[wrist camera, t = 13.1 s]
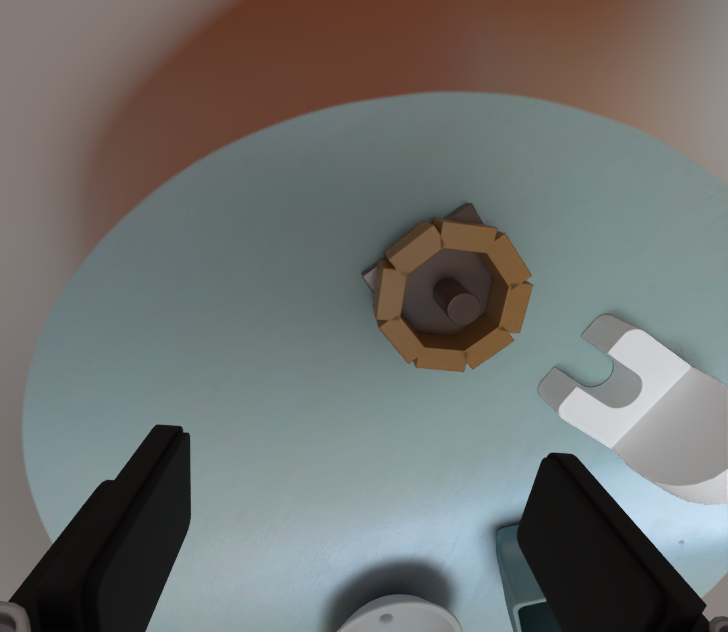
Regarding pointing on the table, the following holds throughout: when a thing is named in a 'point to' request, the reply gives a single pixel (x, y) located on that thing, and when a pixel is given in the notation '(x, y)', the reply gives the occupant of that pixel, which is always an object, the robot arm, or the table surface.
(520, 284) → the segmented block ring
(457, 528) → the table surface
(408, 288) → the peg stand
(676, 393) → the white slotted bracket
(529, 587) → the flower pot
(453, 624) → the dish
